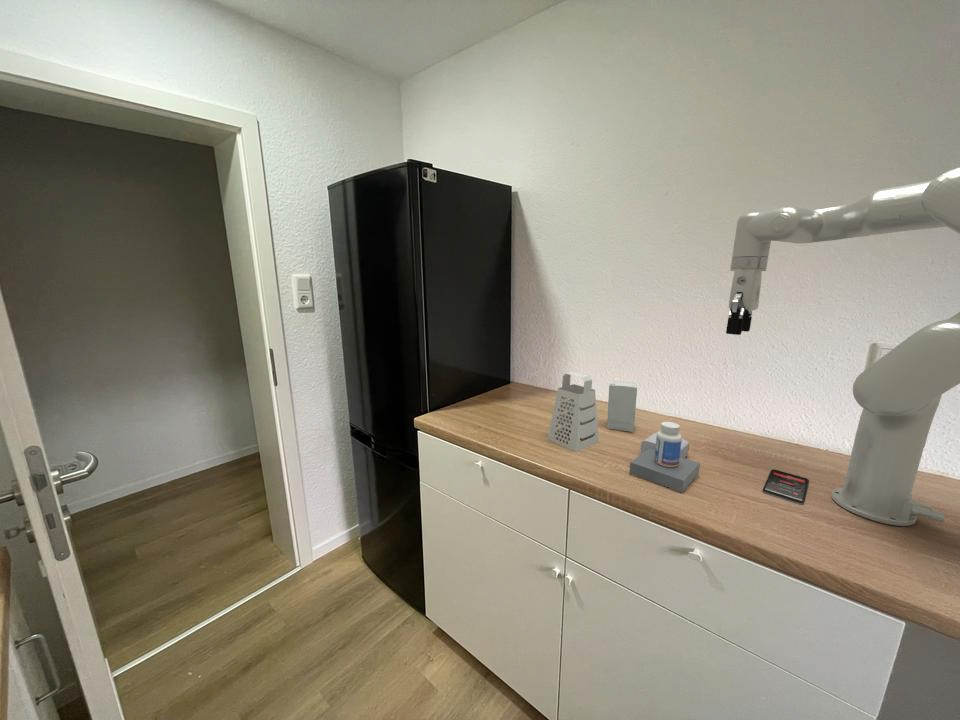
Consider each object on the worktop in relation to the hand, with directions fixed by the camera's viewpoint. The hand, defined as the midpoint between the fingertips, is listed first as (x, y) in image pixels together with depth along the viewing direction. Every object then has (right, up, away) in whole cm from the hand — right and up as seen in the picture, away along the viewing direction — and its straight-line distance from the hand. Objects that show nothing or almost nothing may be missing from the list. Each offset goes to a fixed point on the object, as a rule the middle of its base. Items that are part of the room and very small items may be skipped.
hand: (737, 332), depth 100 cm
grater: (-40, -31, +12) cm, 52 cm away
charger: (-16, -33, +6) cm, 37 cm away
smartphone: (+4, -37, -11) cm, 39 cm away
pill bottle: (-22, -32, -7) cm, 40 cm away
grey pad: (-22, -35, -6) cm, 42 cm away
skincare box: (-23, -29, +23) cm, 43 cm away
